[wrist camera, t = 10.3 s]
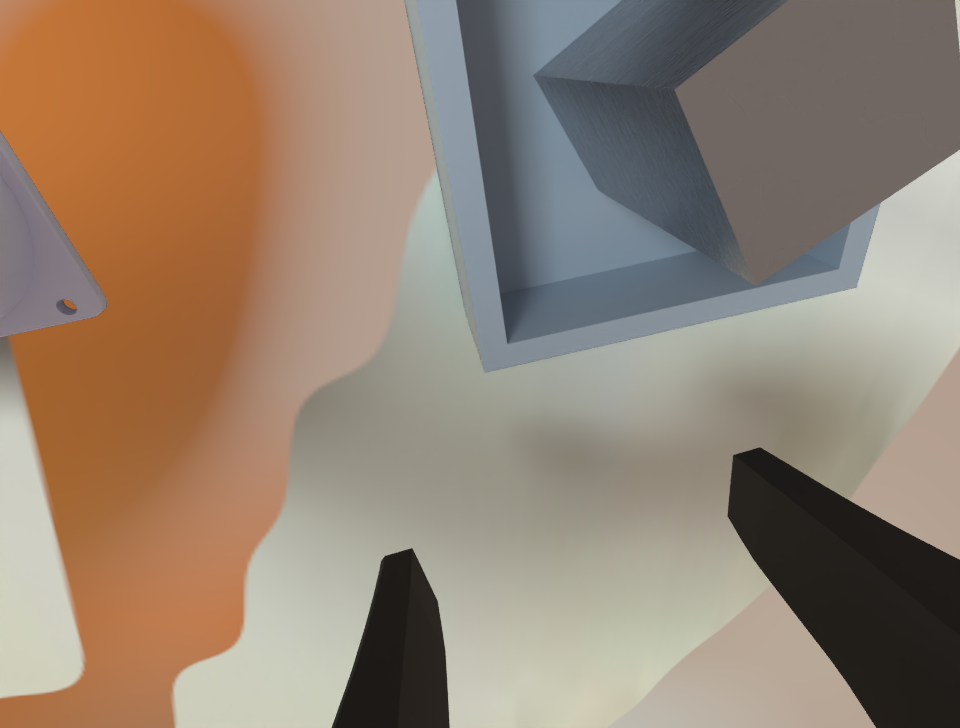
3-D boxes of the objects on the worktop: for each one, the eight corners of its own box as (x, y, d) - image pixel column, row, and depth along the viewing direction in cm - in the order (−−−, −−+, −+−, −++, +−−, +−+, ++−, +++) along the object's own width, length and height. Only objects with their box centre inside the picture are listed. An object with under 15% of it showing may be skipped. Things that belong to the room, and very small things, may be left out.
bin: (465, 314, 18) (484, 372, 15) (378, -133, 12) (376, -211, 8) (771, 246, 19) (856, 287, 15) (851, -212, 12) (1028, -315, 9)
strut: (598, 190, 16) (756, 285, 9) (533, 75, 14) (674, 89, 7) (707, 106, 15) (968, 144, 8) (655, -29, 13) (943, -122, 6)
